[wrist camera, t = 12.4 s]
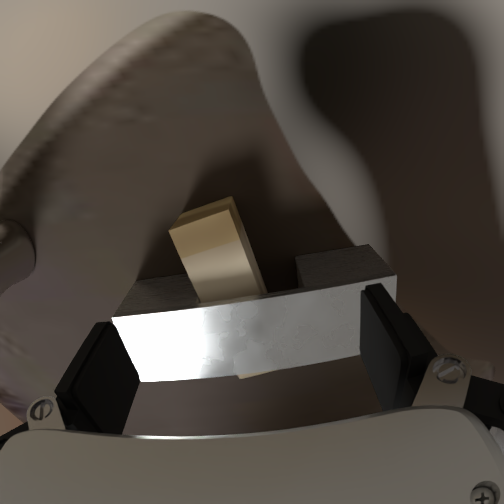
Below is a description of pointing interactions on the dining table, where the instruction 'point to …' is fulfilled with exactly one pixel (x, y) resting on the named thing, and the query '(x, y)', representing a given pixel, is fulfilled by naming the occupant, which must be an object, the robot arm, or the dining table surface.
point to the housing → (251, 320)
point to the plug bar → (217, 254)
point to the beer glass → (14, 254)
